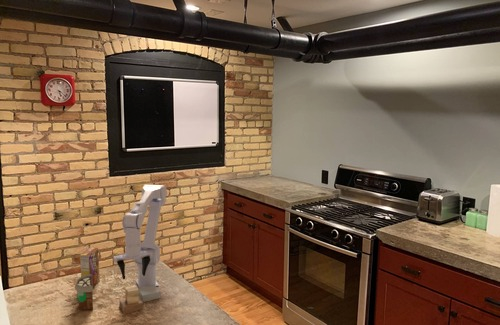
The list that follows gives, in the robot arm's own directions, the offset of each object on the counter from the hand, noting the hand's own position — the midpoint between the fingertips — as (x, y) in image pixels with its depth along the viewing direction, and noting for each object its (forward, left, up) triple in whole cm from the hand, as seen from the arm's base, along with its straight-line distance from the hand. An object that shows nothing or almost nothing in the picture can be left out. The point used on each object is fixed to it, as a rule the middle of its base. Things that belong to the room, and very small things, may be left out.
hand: (133, 276), depth 149 cm
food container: (-4, -18, -10) cm, 21 cm away
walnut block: (+5, -2, -10) cm, 12 cm away
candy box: (-22, -14, -10) cm, 28 cm away
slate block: (-1, +6, -10) cm, 12 cm away
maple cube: (+5, -2, -7) cm, 9 cm away
